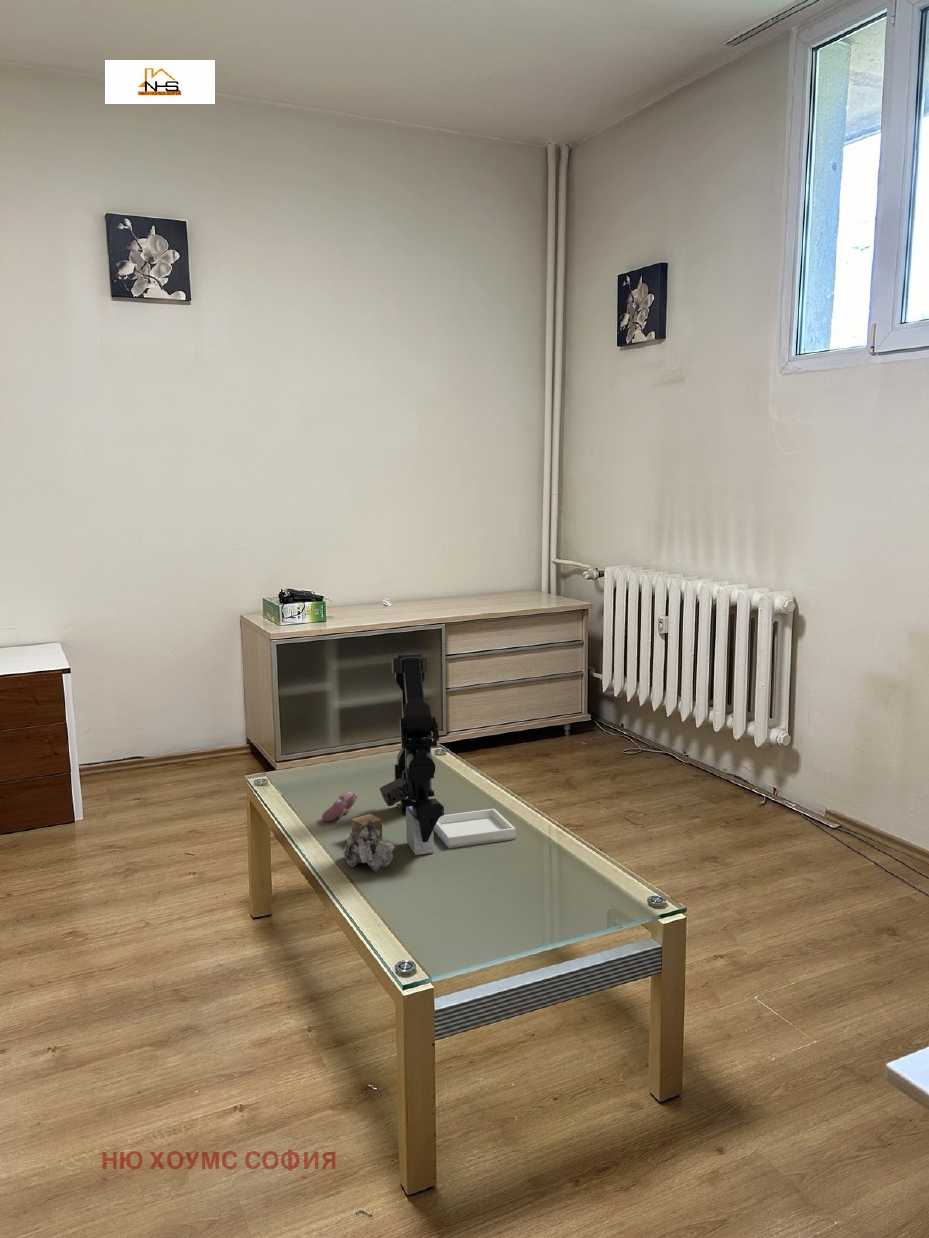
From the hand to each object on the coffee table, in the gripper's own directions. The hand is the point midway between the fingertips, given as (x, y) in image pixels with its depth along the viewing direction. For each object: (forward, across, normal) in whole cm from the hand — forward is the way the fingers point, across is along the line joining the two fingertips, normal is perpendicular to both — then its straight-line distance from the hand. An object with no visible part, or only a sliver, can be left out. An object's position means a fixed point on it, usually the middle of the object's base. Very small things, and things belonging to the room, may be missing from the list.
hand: (419, 835), depth 206 cm
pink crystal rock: (+3, -26, -13) cm, 29 cm away
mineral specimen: (+3, +5, -13) cm, 15 cm away
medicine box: (+3, 0, 0) cm, 3 cm away
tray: (+3, -4, +14) cm, 15 cm away
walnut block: (+3, -9, -10) cm, 14 cm away
